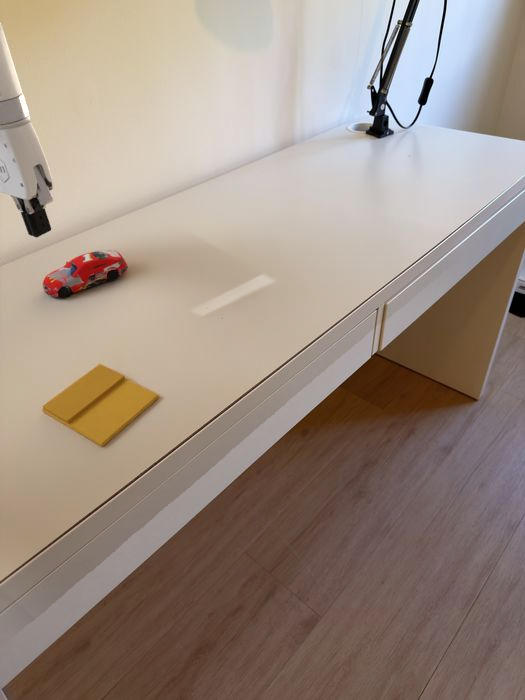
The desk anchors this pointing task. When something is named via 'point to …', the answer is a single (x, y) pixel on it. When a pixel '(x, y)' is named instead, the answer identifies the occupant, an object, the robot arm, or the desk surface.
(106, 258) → the race car
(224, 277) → the desk surface
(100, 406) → the rag
